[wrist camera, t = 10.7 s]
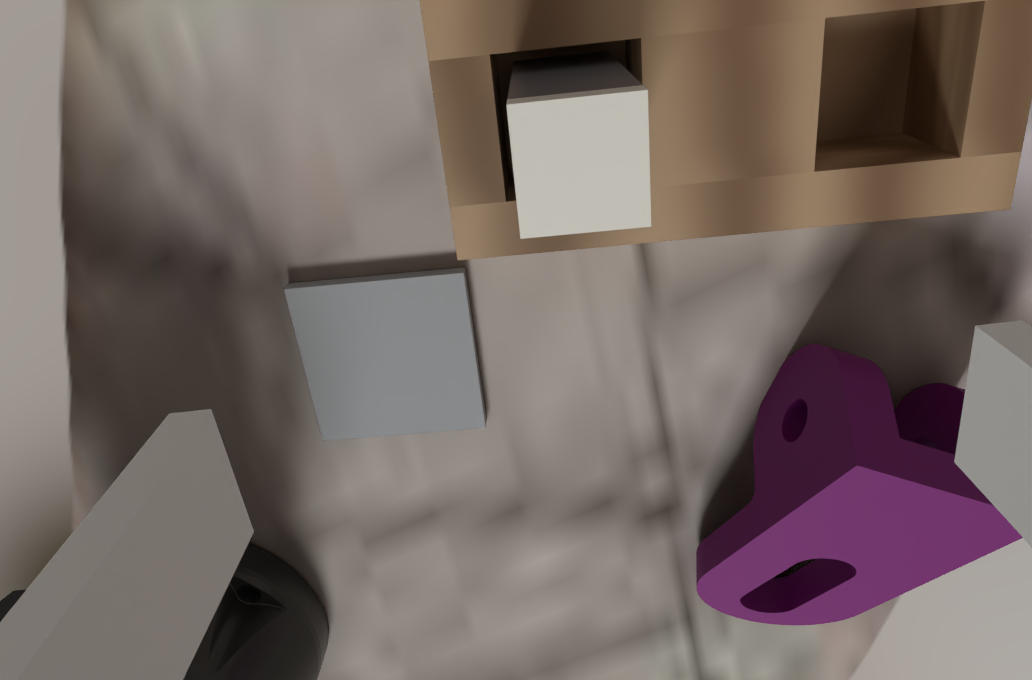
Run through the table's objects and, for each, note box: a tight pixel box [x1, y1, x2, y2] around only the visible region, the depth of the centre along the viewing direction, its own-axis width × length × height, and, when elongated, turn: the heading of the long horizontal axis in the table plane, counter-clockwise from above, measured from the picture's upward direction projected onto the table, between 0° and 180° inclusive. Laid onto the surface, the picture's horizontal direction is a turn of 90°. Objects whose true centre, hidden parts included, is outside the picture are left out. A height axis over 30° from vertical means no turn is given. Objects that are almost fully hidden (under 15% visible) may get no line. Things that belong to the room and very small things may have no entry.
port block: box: [420, 0, 1032, 260], centre depth 30 cm, size 22×10×6 cm, turn 96°
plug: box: [506, 51, 651, 239], centre depth 27 cm, size 4×4×12 cm
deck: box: [284, 267, 486, 441], centre depth 39 cm, size 9×9×1 cm
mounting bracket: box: [697, 344, 1023, 625], centre depth 41 cm, size 9×8×18 cm
